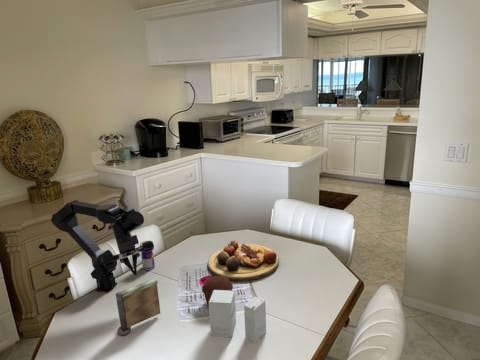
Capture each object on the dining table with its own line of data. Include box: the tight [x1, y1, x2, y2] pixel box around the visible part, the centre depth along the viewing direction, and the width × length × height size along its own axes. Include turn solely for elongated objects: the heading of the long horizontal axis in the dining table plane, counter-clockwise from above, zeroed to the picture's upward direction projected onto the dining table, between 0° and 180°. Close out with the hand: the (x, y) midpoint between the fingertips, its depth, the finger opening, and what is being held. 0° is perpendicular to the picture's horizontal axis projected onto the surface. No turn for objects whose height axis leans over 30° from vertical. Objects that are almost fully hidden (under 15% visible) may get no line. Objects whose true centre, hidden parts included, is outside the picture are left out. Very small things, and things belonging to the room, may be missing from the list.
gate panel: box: [115, 278, 161, 330], centre depth 122 cm, size 14×2×13 cm, turn 127°
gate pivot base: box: [116, 326, 132, 337], centre depth 120 cm, size 4×4×1 cm
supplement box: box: [208, 290, 237, 338], centre depth 118 cm, size 7×7×13 cm
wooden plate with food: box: [207, 240, 280, 282], centre depth 161 cm, size 32×32×8 cm
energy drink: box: [139, 240, 156, 271], centre depth 161 cm, size 5×5×12 cm
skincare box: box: [243, 296, 267, 343], centre depth 114 cm, size 6×4×12 cm
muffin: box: [201, 275, 234, 308], centre depth 132 cm, size 12×11×10 cm
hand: (135, 275), depth 131 cm, fingers closed
